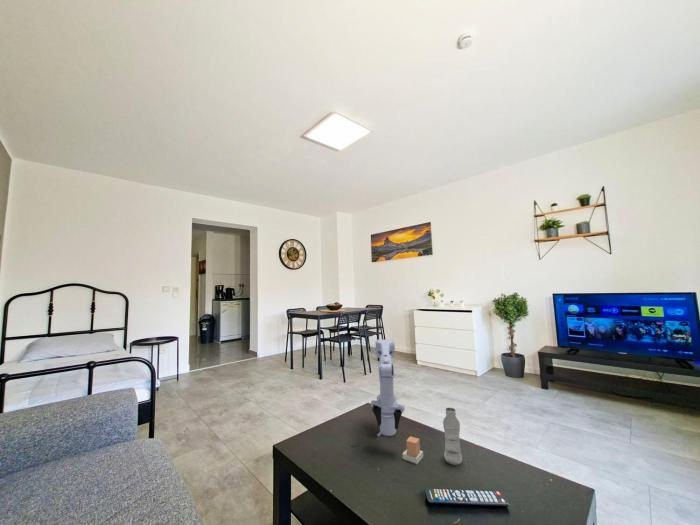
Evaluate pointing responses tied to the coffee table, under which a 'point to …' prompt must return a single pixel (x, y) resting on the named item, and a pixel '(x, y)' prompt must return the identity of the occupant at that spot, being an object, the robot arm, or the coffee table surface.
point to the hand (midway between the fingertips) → (388, 426)
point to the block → (413, 446)
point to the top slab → (412, 457)
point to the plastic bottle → (452, 438)
